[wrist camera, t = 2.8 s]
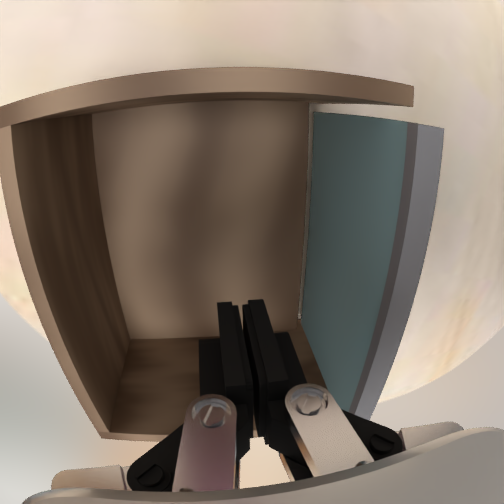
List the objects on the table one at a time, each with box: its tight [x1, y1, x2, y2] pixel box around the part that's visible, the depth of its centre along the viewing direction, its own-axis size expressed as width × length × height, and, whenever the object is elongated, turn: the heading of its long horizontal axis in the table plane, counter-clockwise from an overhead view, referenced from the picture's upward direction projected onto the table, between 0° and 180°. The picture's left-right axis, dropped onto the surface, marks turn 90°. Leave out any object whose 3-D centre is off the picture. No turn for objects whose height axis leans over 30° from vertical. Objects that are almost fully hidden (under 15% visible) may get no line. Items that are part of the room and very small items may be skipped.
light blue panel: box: [301, 112, 444, 420], centre depth 16 cm, size 1×15×11 cm, turn 0°
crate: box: [0, 67, 414, 442], centre depth 17 cm, size 15×18×10 cm
